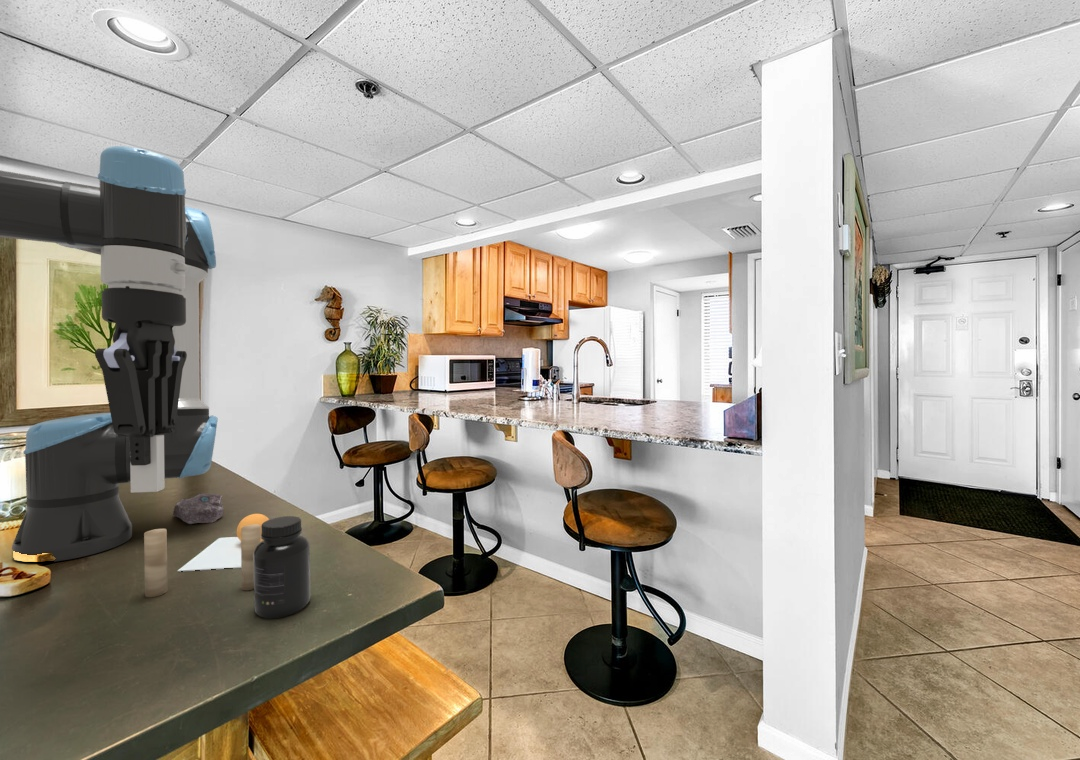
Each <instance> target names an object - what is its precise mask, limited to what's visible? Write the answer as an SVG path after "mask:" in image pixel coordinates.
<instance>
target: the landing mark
mask: <svg viewBox="0 0 1080 760" xmlns="http://www.w3.org/2000/svg"><path fill="white" fill-rule="evenodd" d="M224 568H233V569H241V541H240V540H239V539H238V537H237V536H230V537H226V536H225V537H218V538H217V539H216V540H214V542H212V543H211V544H209V545H208V546H207V547H206V548H204V549H203V550H202V551H200V553H198V554H197V555H195V557H193V558H191V559H190V560H189V561H187V563H185V564H184V565H183V566H182V567H180V568H179V569H178V570H177V572H178V573H181V571H183V572H195V570H200V571H211V569H216V570H225V569H224Z"/></svg>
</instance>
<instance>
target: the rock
mask: <svg viewBox="0 0 1080 760" xmlns="http://www.w3.org/2000/svg"><path fill="white" fill-rule="evenodd" d="M222 501H223V495H222V494H219V493H206V492H205V493H204V492H203V493H201V492H200V493H198V494H197V495H196V496H192V497H190V498H188V499H186V498H182V499H181V500H180V501H177V503H176V505H174V509H173V511H172V513H173V514H172V515H173V517H176V518H179V519H180V520H182V522H184V523H185V524H188V525H193V524H198V523H199V524H213V523H214V522H216V521H218V519H221V518H222V517H223V515H224V513H225V509H224V505H223V502H222Z"/></svg>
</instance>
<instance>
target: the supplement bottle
mask: <svg viewBox="0 0 1080 760" xmlns="http://www.w3.org/2000/svg"><path fill="white" fill-rule="evenodd" d="M302 533H303V527H302V519H301V518H300V517H299V516H294V515H287V516H284V515H283V516H278V517H277V516H276V517H273V518H270V519H269V520H267V521H265V522H264V523H263V524H262V534H261V539H262V540H263V541H262V542H260V543H259V544H258V545H257V546H256V548H255V550H254V553H253V563H254V589H253V595H254V597H253V598H254V600H253V601H254V612H255V614H256V615H258V616H259V617H261V618H264V619H280V618H283V617H288V616H291V615H294V614H296V613H298V612H300V611H301V610H303V609H304V608H305V607H306V606H307V605H308V604H309V602H310V600H311V553H310V552H311V551H310V550H311V549H310V548H311V547H310V541H309V539H308V538H307V537H306V536H304V535H303V534H302Z"/></svg>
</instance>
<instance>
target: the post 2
mask: <svg viewBox="0 0 1080 760" xmlns="http://www.w3.org/2000/svg"><path fill="white" fill-rule="evenodd" d="M260 542H261V525H258V524H254V525H247V526H244V527H242V528H241V568H240V570H241V571H240V572H241V577H240V578H241V580H240V581H241V585H240V586H241V588H240V589H241V590H242V591H254V563H253V553H254V550H255V548H256V546H257V545H258V544H259V543H260Z"/></svg>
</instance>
